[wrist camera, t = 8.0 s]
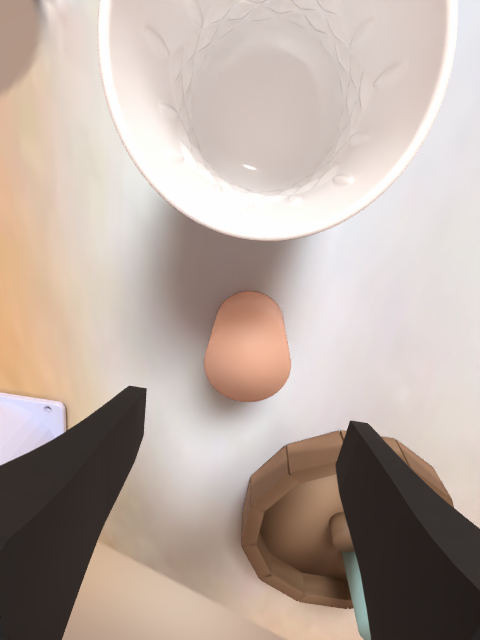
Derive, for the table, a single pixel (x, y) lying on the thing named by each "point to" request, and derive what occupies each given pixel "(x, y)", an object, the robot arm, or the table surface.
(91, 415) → the robot arm
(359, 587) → the pale teal rounded piece
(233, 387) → the peach rounded cylinder
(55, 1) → the table surface
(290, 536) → the tray
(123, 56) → the white cup
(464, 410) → the table surface
